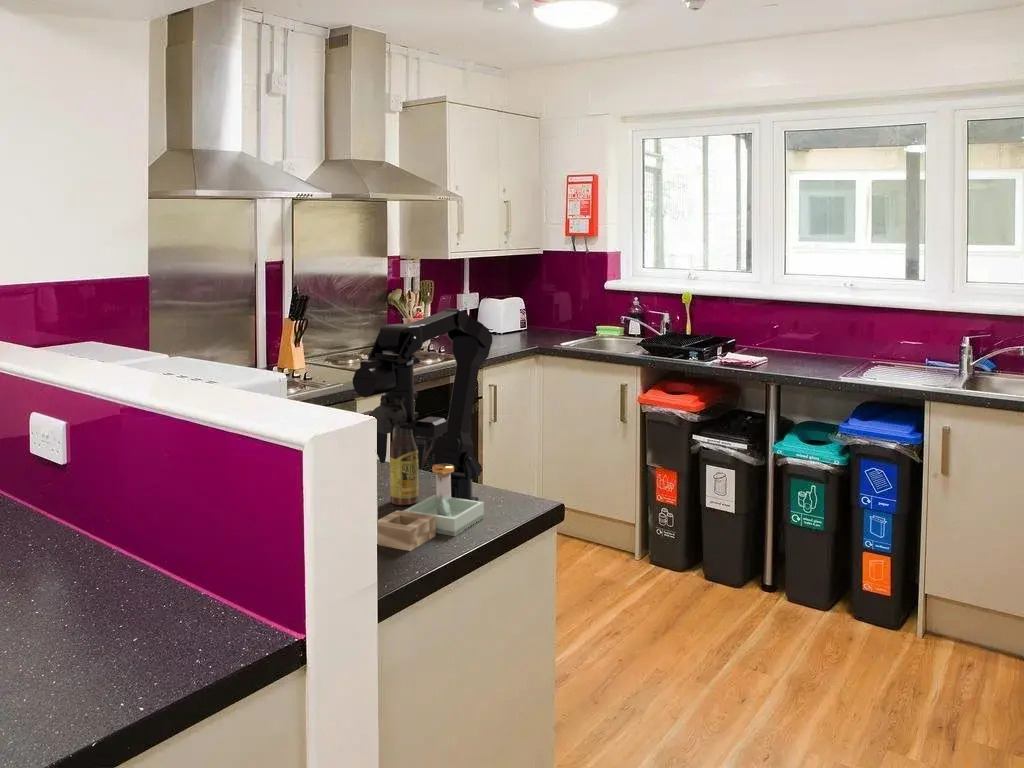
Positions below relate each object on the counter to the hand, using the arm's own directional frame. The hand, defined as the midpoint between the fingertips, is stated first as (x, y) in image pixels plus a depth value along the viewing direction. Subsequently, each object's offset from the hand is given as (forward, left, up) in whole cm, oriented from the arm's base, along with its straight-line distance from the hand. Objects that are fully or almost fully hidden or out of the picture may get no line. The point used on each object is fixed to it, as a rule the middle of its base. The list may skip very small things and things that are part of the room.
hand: (401, 465), depth 178 cm
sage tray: (-6, +6, -13) cm, 16 cm away
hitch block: (+6, +4, -13) cm, 15 cm away
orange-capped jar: (-6, +6, -12) cm, 15 cm away
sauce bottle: (-14, -9, -13) cm, 21 cm away
